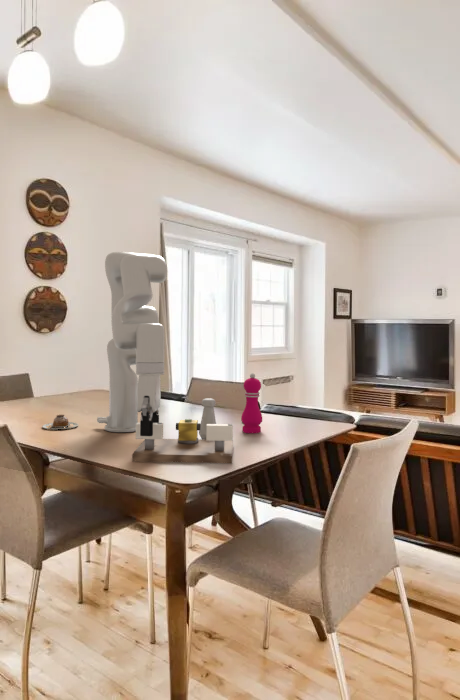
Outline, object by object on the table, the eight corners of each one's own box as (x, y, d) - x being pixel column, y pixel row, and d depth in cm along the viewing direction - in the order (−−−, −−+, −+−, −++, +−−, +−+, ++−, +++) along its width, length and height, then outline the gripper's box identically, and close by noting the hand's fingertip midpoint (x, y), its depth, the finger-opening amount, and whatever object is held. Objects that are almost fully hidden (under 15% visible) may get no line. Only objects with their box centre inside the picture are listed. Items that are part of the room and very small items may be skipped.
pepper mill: (260, 434, 167) (261, 374, 167) (239, 433, 169) (240, 373, 168) (263, 430, 174) (264, 372, 174) (243, 429, 176) (243, 372, 175)
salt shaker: (210, 442, 154) (210, 400, 153) (195, 440, 157) (195, 399, 156) (220, 439, 159) (221, 398, 158) (205, 437, 162) (206, 397, 161)
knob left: (135, 449, 135) (135, 423, 135) (137, 447, 138) (137, 421, 137) (161, 449, 135) (161, 424, 134) (163, 447, 137) (163, 422, 137)
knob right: (206, 450, 135) (206, 424, 134) (206, 448, 137) (207, 423, 137) (232, 451, 134) (232, 425, 134) (232, 449, 137) (232, 423, 137)
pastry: (83, 425, 180) (83, 412, 180) (70, 432, 168) (70, 418, 168) (51, 424, 181) (51, 411, 181) (35, 431, 169) (35, 417, 169)
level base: (132, 461, 131) (132, 428, 131) (145, 445, 150) (146, 416, 149) (231, 463, 130) (232, 430, 130) (233, 446, 149) (233, 418, 149)
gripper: (142, 367, 144) (142, 426, 144) (129, 371, 127) (129, 438, 127) (168, 367, 144) (168, 426, 144) (158, 371, 126) (158, 439, 127)
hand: (149, 432), depth 136 cm, fingers open, 9 cm apart
